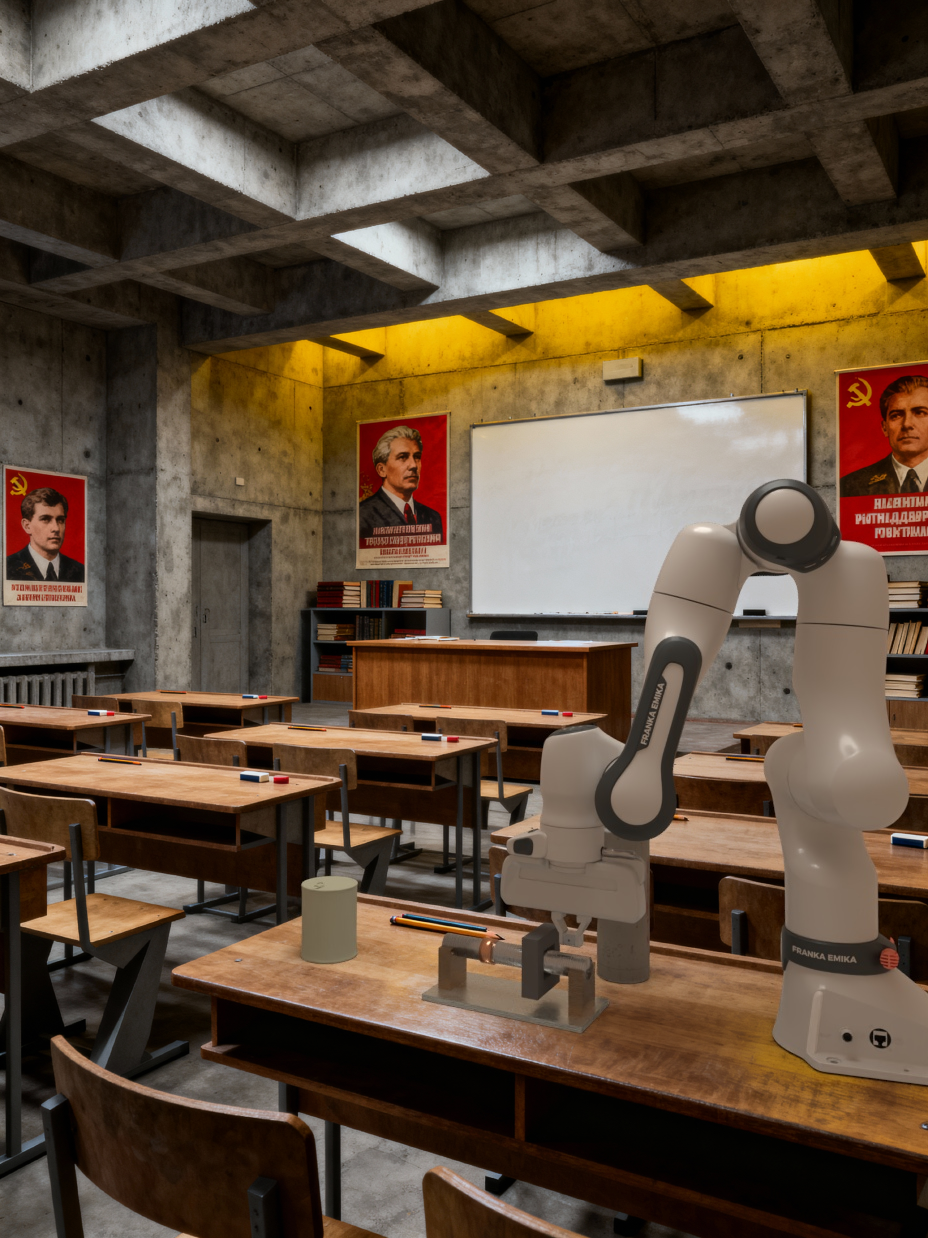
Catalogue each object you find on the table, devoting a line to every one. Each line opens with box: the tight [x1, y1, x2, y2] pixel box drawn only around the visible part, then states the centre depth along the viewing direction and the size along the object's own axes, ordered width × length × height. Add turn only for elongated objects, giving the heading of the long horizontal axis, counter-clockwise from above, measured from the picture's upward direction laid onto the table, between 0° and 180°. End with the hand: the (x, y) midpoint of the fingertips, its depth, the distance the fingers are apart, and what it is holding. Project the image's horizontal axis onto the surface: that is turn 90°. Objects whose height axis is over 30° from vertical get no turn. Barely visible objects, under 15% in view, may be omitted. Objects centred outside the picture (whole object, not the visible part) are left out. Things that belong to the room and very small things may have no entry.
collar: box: [521, 921, 561, 1000], centre depth 128 cm, size 2×8×8 cm, turn 152°
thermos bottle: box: [596, 826, 651, 984], centre depth 142 cm, size 8×8×28 cm
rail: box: [421, 932, 610, 1034], centre depth 130 cm, size 24×11×8 cm, turn 62°
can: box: [299, 875, 359, 965], centre depth 150 cm, size 9×9×12 cm
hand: (571, 945), depth 126 cm, fingers closed
